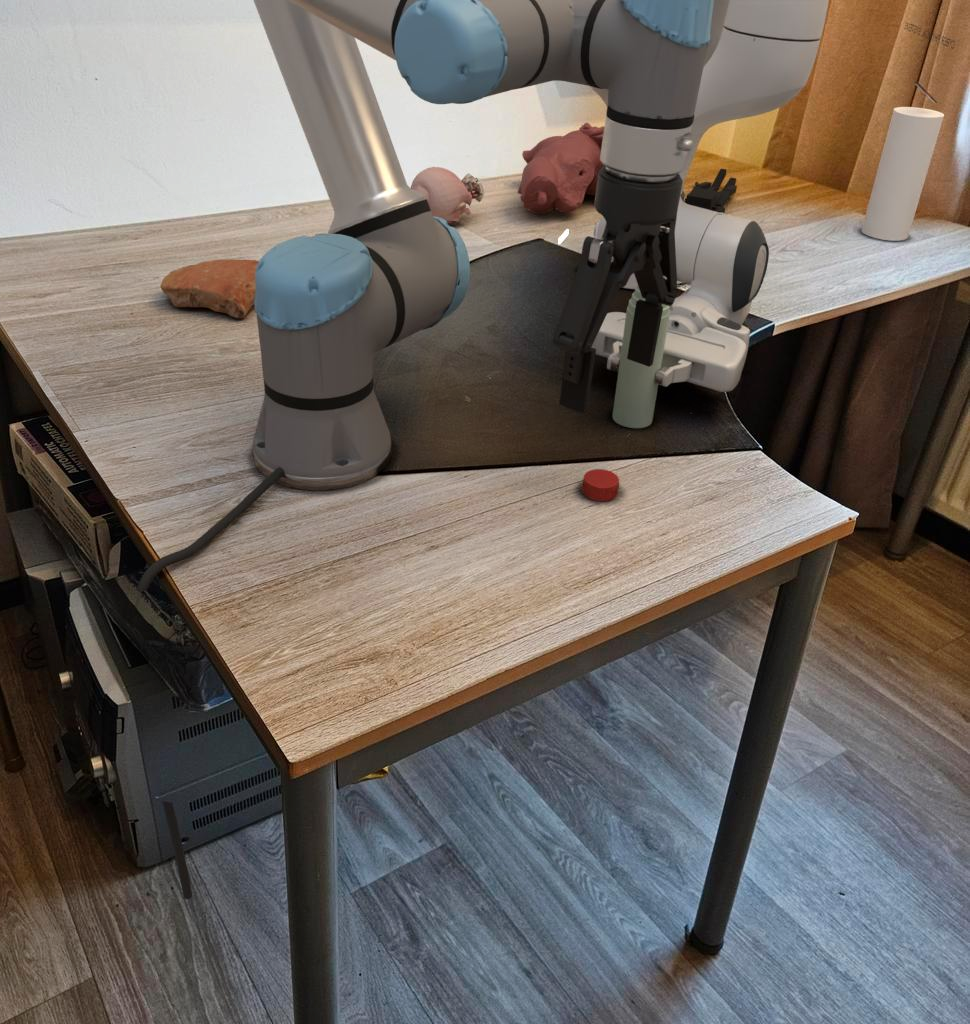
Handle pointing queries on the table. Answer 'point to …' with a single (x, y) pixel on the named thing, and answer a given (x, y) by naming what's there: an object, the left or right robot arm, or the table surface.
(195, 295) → the ceramic shard
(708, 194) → the black piece
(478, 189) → the toy
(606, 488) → the cap
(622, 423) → the bottle
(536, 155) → the red pig head
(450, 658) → the table surface
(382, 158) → the left robot arm
